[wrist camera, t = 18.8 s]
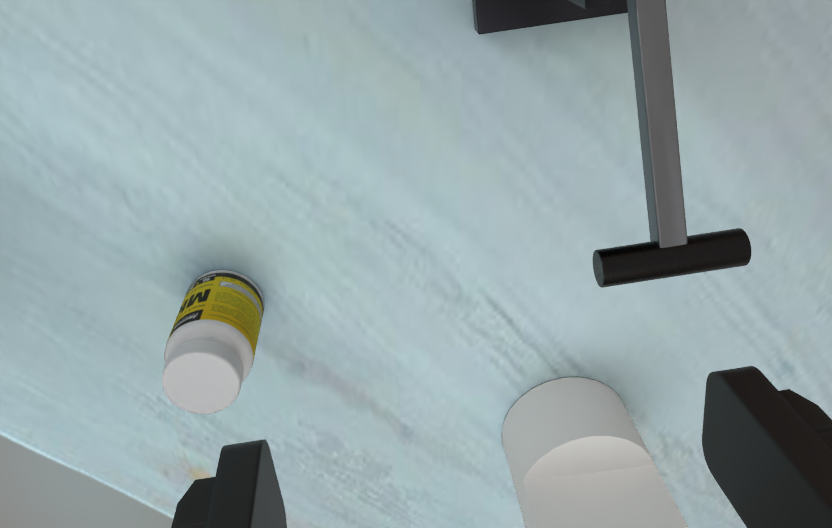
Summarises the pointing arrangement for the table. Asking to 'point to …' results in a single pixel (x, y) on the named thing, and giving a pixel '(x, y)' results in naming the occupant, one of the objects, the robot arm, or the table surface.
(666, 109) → the lever
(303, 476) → the table surface
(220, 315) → the supplement bottle
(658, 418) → the table surface
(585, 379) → the cylinder with rectangular tab
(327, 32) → the table surface
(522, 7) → the lever bracket
